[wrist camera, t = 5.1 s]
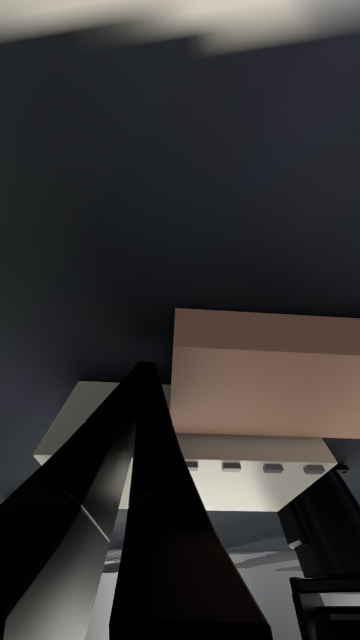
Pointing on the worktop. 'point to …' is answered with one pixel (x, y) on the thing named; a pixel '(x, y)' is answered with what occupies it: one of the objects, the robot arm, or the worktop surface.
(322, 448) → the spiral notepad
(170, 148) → the worktop surface
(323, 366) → the pink rectangular slab
